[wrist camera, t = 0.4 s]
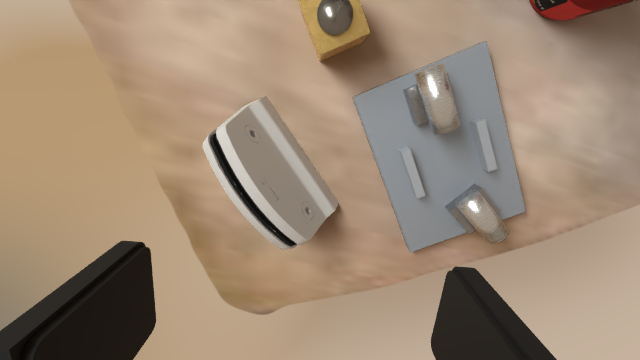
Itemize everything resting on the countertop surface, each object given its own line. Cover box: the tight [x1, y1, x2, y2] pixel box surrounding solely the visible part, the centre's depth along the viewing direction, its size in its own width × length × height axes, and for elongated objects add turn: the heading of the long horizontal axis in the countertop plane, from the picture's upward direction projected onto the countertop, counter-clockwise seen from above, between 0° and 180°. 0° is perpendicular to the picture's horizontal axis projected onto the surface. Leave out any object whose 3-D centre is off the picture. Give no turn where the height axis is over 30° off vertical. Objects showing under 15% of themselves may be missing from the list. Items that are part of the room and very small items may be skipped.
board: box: [352, 41, 526, 252], centre depth 35 cm, size 21×15×3 cm
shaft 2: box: [445, 183, 509, 244], centre depth 35 cm, size 6×4×6 cm
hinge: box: [203, 96, 339, 249], centre depth 33 cm, size 17×5×10 cm, turn 33°
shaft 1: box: [403, 63, 461, 135], centre depth 32 cm, size 6×4×6 cm
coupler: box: [299, 0, 370, 61], centre depth 29 cm, size 5×5×7 cm
